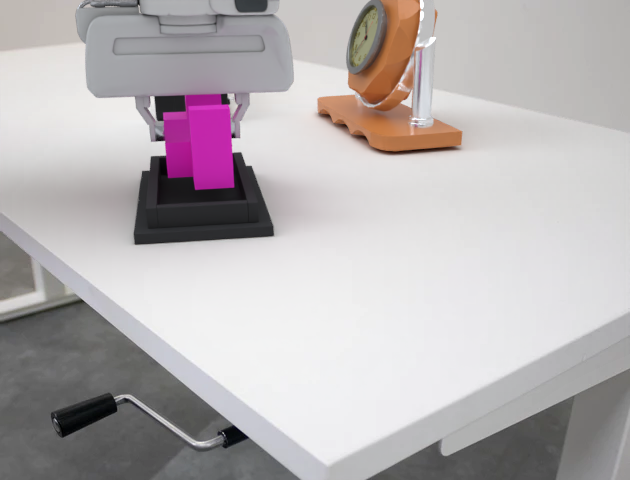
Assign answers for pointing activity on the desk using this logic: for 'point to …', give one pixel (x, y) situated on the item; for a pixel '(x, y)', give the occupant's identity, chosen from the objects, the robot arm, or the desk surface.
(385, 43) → the desk clock
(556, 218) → the desk surface
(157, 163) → the socket pad
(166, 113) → the toy block
